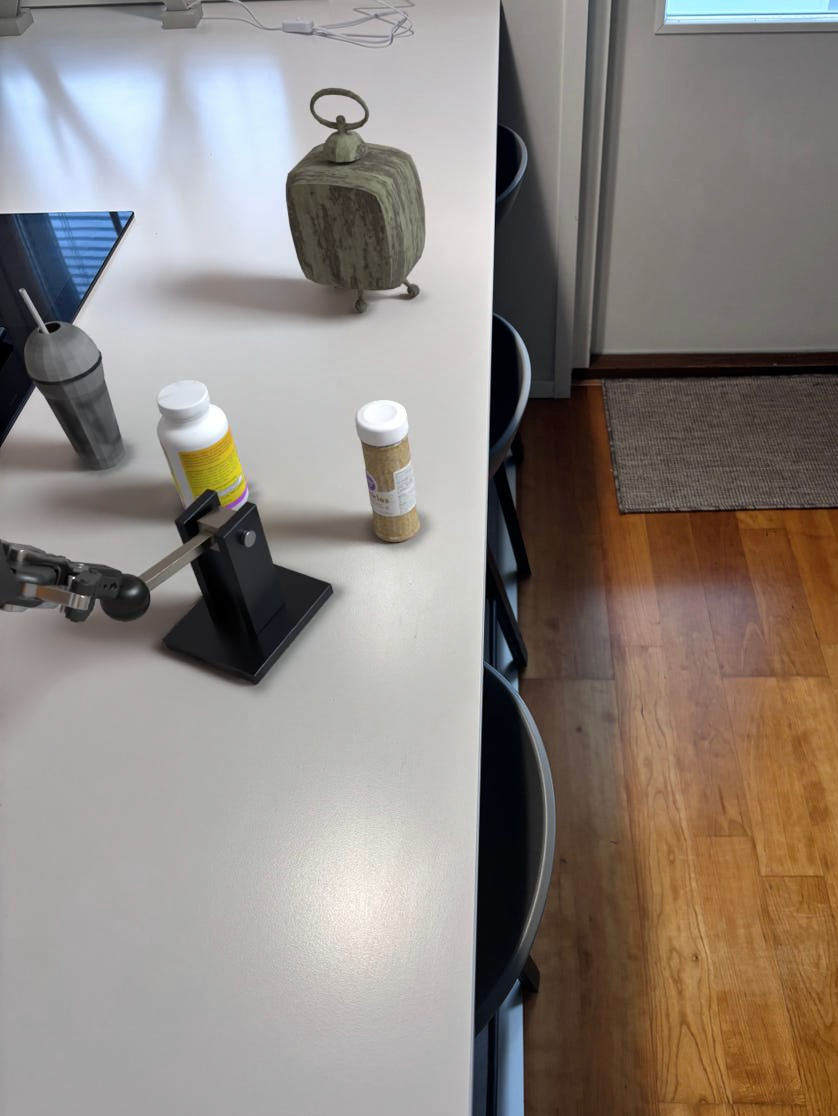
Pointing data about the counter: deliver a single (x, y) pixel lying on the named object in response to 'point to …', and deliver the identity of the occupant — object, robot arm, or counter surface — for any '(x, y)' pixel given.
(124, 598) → the lever
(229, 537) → the bracket
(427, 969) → the counter surface
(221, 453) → the supplement bottle
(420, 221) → the tabletop clock
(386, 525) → the sprinkles bottle
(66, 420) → the beverage cup
